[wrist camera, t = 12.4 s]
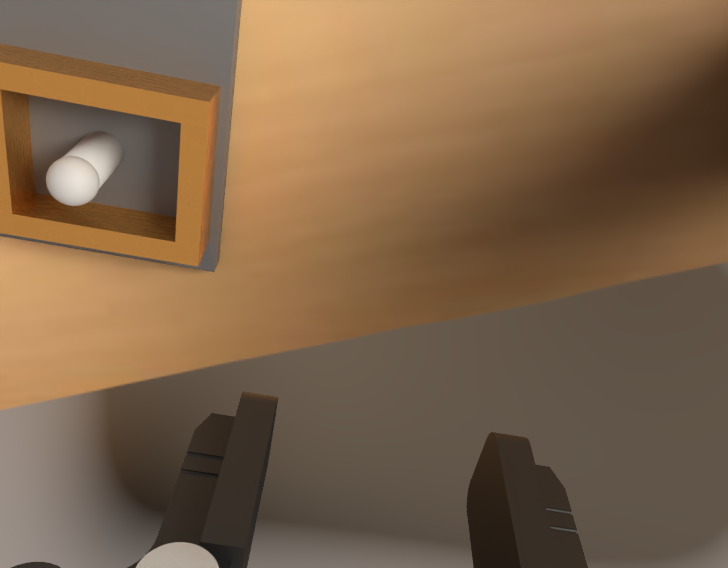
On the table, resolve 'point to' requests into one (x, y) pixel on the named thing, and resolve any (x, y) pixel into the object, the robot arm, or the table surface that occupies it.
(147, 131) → the plate
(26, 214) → the link ring
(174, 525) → the robot arm
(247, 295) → the table surface
